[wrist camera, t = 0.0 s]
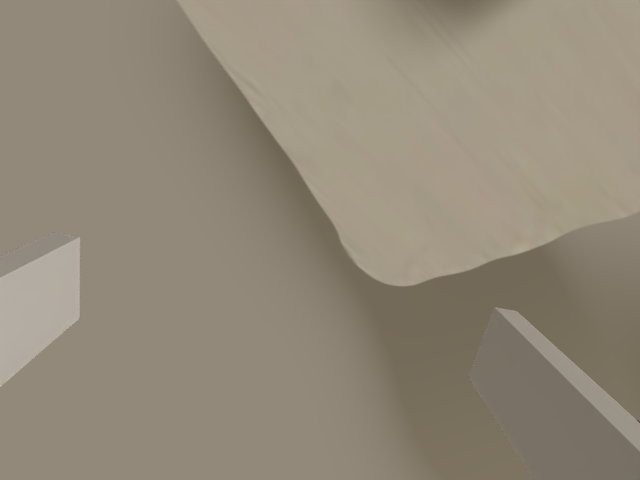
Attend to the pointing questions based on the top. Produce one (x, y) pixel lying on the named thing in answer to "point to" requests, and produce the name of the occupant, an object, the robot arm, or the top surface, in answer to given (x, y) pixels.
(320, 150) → the top surface
